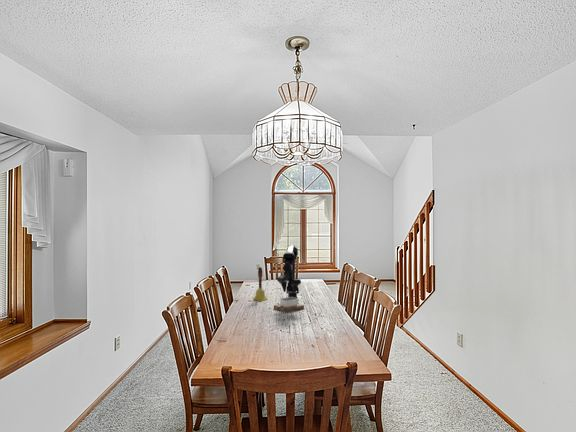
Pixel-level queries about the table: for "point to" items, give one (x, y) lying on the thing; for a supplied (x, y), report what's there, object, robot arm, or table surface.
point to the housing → (288, 301)
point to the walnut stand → (288, 308)
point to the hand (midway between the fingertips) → (288, 292)
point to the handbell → (260, 288)
